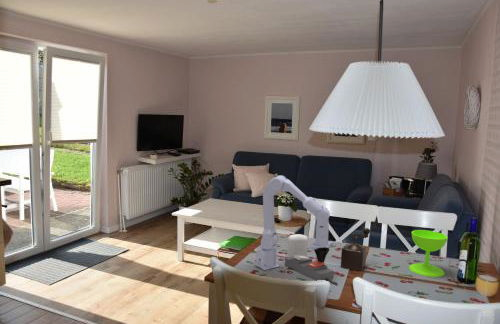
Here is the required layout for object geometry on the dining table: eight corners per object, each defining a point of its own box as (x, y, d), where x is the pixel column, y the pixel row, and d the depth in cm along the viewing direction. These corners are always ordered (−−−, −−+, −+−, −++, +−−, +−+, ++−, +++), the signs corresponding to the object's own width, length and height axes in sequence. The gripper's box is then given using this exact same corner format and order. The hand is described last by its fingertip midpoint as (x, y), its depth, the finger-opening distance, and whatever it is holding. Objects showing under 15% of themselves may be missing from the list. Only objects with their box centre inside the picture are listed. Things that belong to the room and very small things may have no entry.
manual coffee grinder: (363, 271, 191) (365, 235, 189) (340, 267, 196) (342, 231, 194) (369, 262, 205) (371, 227, 203) (347, 258, 210) (349, 224, 208)
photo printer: (305, 256, 210) (306, 233, 209) (307, 259, 206) (308, 235, 205) (286, 256, 209) (287, 233, 207) (288, 259, 204) (289, 235, 203)
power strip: (330, 287, 171) (331, 277, 171) (284, 264, 196) (285, 255, 196) (344, 283, 176) (344, 273, 176) (297, 262, 201) (298, 253, 201)
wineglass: (401, 266, 200) (404, 231, 198) (426, 263, 206) (429, 229, 204) (425, 278, 185) (429, 240, 184) (452, 274, 191) (455, 238, 189)
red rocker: (314, 269, 181) (313, 267, 181) (308, 266, 184) (307, 264, 184) (324, 264, 184) (324, 262, 184) (318, 262, 188) (317, 259, 187)
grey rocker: (299, 260, 189) (299, 257, 189) (293, 257, 192) (294, 255, 192) (308, 260, 193) (309, 258, 193) (303, 258, 196) (303, 255, 196)
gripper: (316, 238, 177) (315, 268, 179) (339, 234, 185) (338, 262, 187) (305, 235, 183) (304, 263, 184) (328, 230, 191) (327, 258, 193)
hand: (320, 263), depth 186 cm, fingers closed, pressing on red rocker
